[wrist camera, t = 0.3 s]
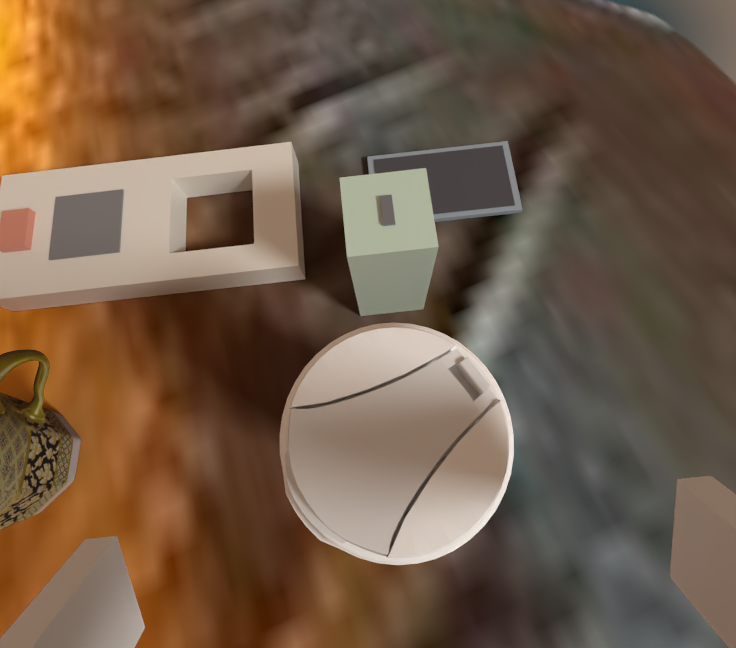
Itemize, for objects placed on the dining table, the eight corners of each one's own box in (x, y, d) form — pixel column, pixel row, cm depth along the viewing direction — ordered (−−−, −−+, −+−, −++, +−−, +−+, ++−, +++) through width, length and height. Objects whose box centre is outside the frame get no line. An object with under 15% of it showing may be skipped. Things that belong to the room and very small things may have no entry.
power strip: (305, 279, 32) (296, 261, 29) (12, 311, 32) (-26, 297, 29) (298, 162, 34) (289, 136, 31) (28, 194, 35) (-5, 170, 32)
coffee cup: (404, 353, 30) (418, 267, 15) (482, 454, 28) (581, 464, 13) (304, 426, 29) (218, 408, 14) (377, 537, 27) (362, 644, 12)
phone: (518, 216, 33) (522, 208, 32) (375, 231, 33) (374, 224, 32) (504, 149, 35) (508, 140, 33) (367, 164, 35) (367, 155, 34)
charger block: (423, 309, 31) (438, 245, 21) (360, 316, 31) (346, 255, 21) (415, 251, 32) (426, 165, 22) (354, 258, 32) (339, 175, 22)
